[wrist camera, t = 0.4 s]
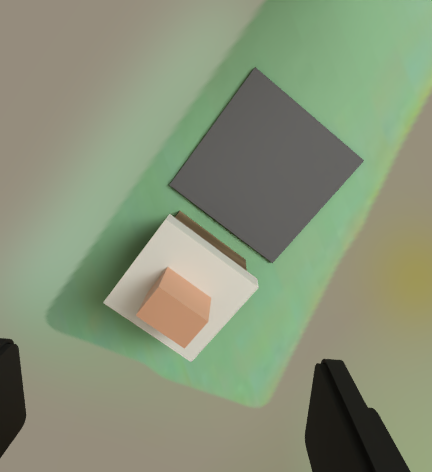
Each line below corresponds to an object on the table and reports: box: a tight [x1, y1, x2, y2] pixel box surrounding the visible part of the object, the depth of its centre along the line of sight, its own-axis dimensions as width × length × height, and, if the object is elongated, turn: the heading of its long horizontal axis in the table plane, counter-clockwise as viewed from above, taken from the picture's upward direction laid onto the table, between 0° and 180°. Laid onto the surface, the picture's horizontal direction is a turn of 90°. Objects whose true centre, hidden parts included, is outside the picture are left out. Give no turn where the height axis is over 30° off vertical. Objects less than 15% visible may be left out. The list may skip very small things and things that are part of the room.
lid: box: [103, 214, 259, 362], centre depth 37 cm, size 13×13×7 cm
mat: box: [170, 67, 364, 263], centre depth 42 cm, size 17×17×1 cm
